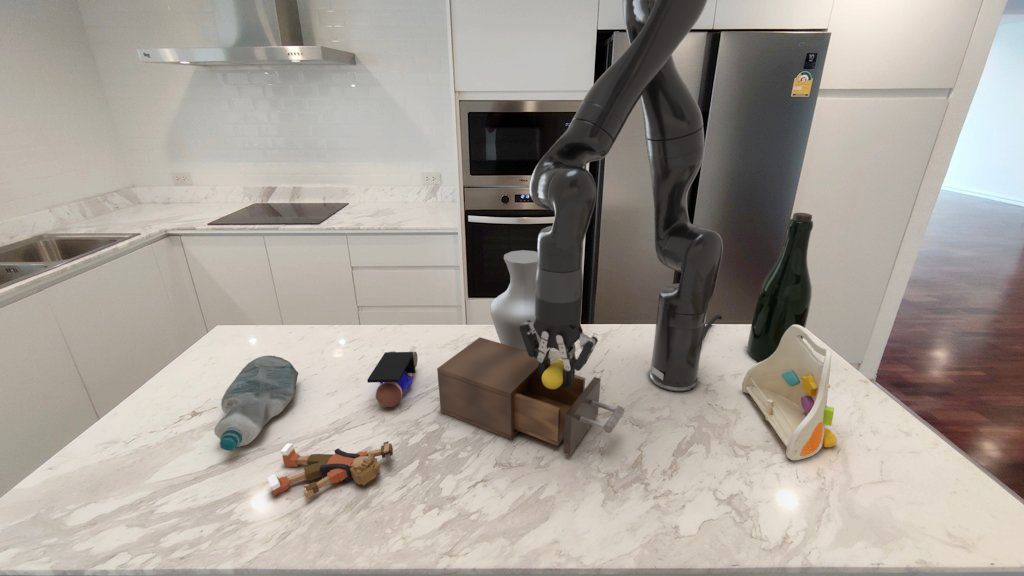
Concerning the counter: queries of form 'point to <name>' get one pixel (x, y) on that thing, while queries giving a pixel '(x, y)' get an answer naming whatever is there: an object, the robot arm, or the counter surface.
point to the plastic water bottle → (255, 399)
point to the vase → (516, 299)
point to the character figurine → (330, 468)
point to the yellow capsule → (553, 375)
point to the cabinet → (485, 384)
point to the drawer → (560, 411)
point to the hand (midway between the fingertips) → (555, 382)
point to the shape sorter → (795, 393)
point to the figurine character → (393, 376)
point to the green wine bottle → (783, 292)
